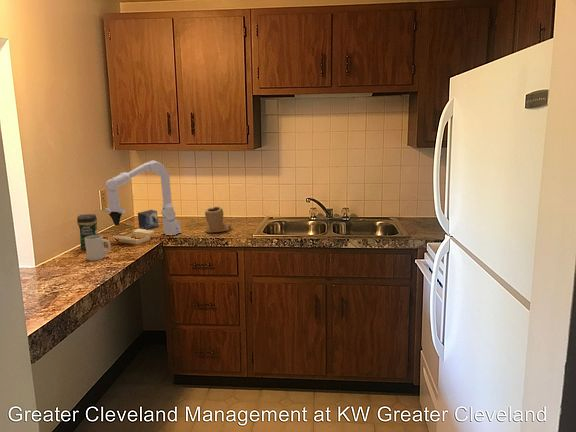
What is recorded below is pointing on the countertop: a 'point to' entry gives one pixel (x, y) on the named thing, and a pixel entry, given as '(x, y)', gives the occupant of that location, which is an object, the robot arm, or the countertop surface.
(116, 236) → the left flap
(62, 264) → the countertop surface
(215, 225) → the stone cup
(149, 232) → the right flap
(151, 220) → the small box
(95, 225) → the coffee jar
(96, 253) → the mug
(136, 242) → the cream shallow tray
